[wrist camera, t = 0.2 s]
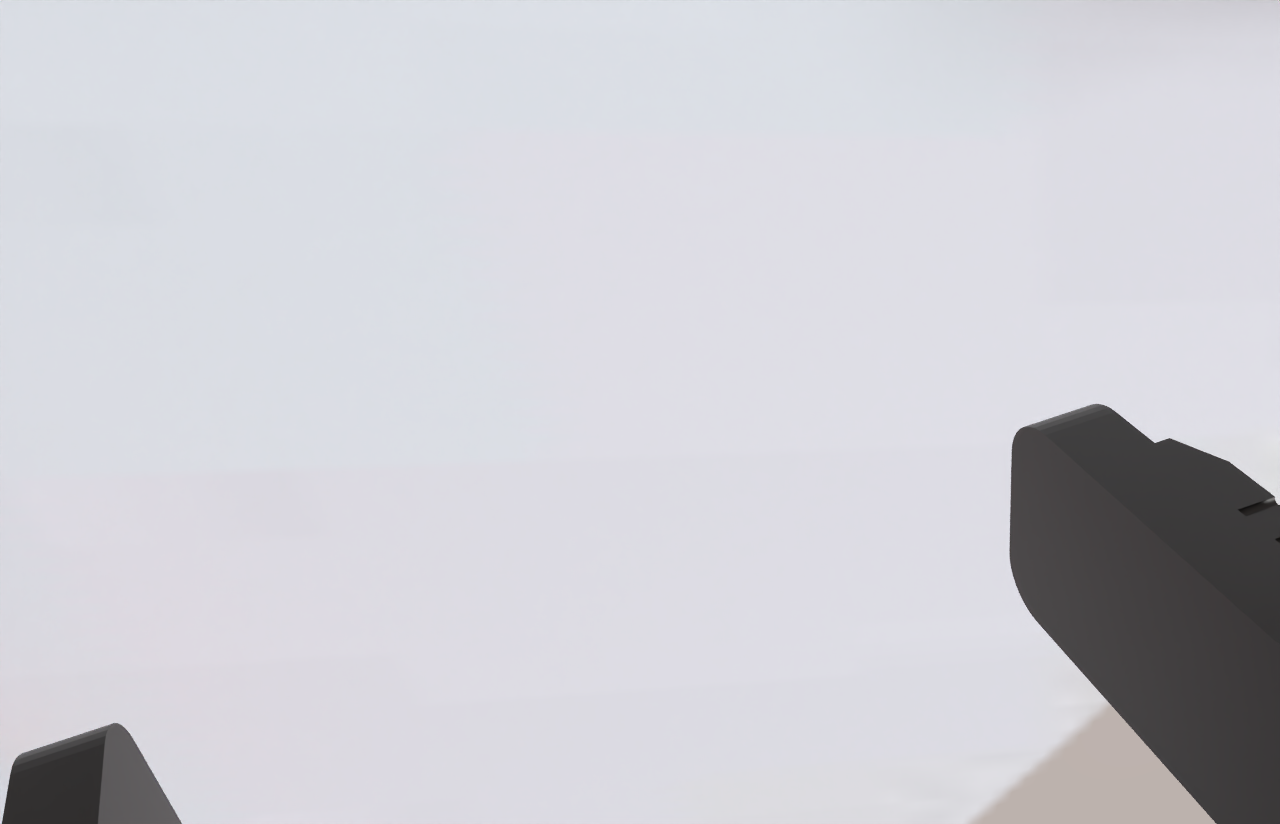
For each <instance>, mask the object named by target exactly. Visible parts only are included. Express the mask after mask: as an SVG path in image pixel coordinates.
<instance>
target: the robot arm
mask: <svg viewBox="0 0 1280 824" xmlns="http://www.w3.org/2000/svg"><path fill="white" fill-rule="evenodd" d="M1010 563H1011V569H1012V573H1013V577H1014V580H1015V583H1016V586H1017V588H1018V591H1019V593H1020V595H1021V597H1022V599H1023V601H1024V603H1025V605H1026V607H1027V608H1028V610H1029V611H1030V613H1031V614H1032V616H1033V617H1034V618H1035V620H1036V621H1037V622H1038V623H1039V624H1040V625H1041V627H1042V628H1043V629H1044V630H1045V631H1046V632H1047V633H1048V635H1049V636H1050V637H1051V638H1052V639H1053V640H1054V641H1055V642H1056V644H1057V645H1058V646H1059V647H1060V648H1061V649H1062V650H1063V651H1064V653H1065V654H1066V655H1067V656H1068V657H1069V658H1070V659H1071V660H1072V662H1073V663H1074V664H1075V665H1076V666H1077V667H1078V668H1079V669H1080V671H1081V672H1082V673H1083V674H1084V675H1085V676H1086V677H1087V678H1088V680H1089V681H1090V682H1091V683H1092V684H1093V685H1094V686H1095V687H1096V689H1097V690H1098V691H1099V692H1100V693H1101V694H1102V695H1103V696H1104V698H1105V699H1106V700H1107V701H1108V702H1109V703H1110V704H1111V705H1112V707H1113V708H1114V709H1115V710H1116V711H1117V712H1118V713H1119V714H1120V716H1121V717H1122V718H1123V719H1124V720H1125V721H1126V722H1127V723H1128V724H1129V726H1130V727H1132V729H1133V730H1134V731H1135V732H1136V734H1137V735H1138V736H1139V737H1140V738H1141V739H1142V740H1143V741H1144V743H1145V744H1146V745H1147V746H1148V747H1149V748H1150V749H1151V750H1152V752H1153V753H1154V754H1155V755H1156V756H1157V757H1158V758H1159V759H1160V761H1161V762H1162V763H1163V764H1164V765H1165V766H1166V767H1167V768H1168V770H1169V771H1170V772H1171V773H1172V774H1173V775H1174V776H1175V777H1176V779H1177V780H1179V782H1180V783H1181V784H1182V785H1183V786H1184V787H1185V789H1186V790H1187V791H1188V792H1189V793H1190V794H1191V795H1192V797H1193V798H1194V799H1195V800H1196V801H1197V802H1198V803H1199V805H1200V806H1201V807H1202V808H1203V809H1204V810H1205V811H1206V812H1207V814H1208V815H1209V816H1210V817H1211V818H1212V819H1213V820H1214V821H1215V823H1217V824H1280V505H1278V504H1277V503H1276V501H1275V496H1273V495H1272V494H1271V493H1269V492H1268V491H1267V490H1265V489H1264V488H1263V487H1261V486H1260V485H1259V484H1257V483H1256V482H1255V481H1254V480H1252V479H1251V478H1250V477H1248V476H1247V475H1246V474H1244V473H1243V472H1242V471H1240V470H1239V469H1238V468H1236V467H1235V466H1234V465H1233V464H1231V463H1230V462H1228V461H1226V460H1223V459H1221V458H1218V457H1216V456H1213V455H1211V454H1208V453H1206V452H1203V451H1200V450H1198V449H1195V448H1193V447H1190V446H1188V445H1185V444H1183V443H1180V442H1178V441H1175V440H1173V439H1170V438H1169V439H1166V440H1163V441H1160V442H1157V443H1154V442H1153V441H1151V440H1150V439H1149V438H1148V437H1146V436H1145V435H1144V434H1143V433H1141V432H1140V431H1139V430H1138V429H1136V428H1135V427H1134V426H1133V425H1131V424H1130V423H1129V422H1128V421H1126V420H1125V419H1124V418H1123V417H1121V416H1120V415H1119V414H1118V413H1116V412H1115V411H1114V410H1112V409H1111V408H1109V407H1107V406H1104V405H1101V404H1093V405H1089V406H1086V407H1083V408H1080V409H1077V410H1074V411H1071V412H1068V413H1065V414H1062V415H1059V416H1056V417H1053V418H1050V419H1047V420H1044V421H1041V422H1038V423H1035V424H1032V425H1029V426H1026V427H1023V428H1021V429H1020V430H1019V431H1018V432H1017V433H1016V435H1015V437H1014V440H1013V444H1012V467H1011V513H1010ZM2 824H182V823H181V821H180V820H179V818H178V816H177V814H176V813H175V811H174V809H173V807H172V806H171V804H170V802H169V800H168V799H167V797H166V795H165V794H164V792H163V790H162V788H161V787H160V785H159V783H158V781H157V780H156V778H155V776H154V774H153V773H152V771H151V769H150V768H149V766H148V764H147V762H146V761H145V759H144V757H143V755H142V754H141V752H140V750H139V748H138V747H137V745H136V743H135V742H134V740H133V738H132V737H131V735H130V734H129V732H128V731H127V730H126V729H125V728H124V727H123V726H122V725H120V724H118V723H113V724H110V725H107V726H104V727H101V728H98V729H95V730H92V731H89V732H86V733H83V734H80V735H77V736H74V737H71V738H68V739H65V740H62V741H59V742H56V743H53V744H49V745H46V746H43V747H40V748H37V749H34V750H31V751H28V752H25V753H22V754H21V755H19V756H18V757H17V758H16V760H15V761H14V764H13V766H12V770H11V774H10V779H9V785H8V791H7V797H6V803H5V809H4V815H3V821H2Z"/></svg>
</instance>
